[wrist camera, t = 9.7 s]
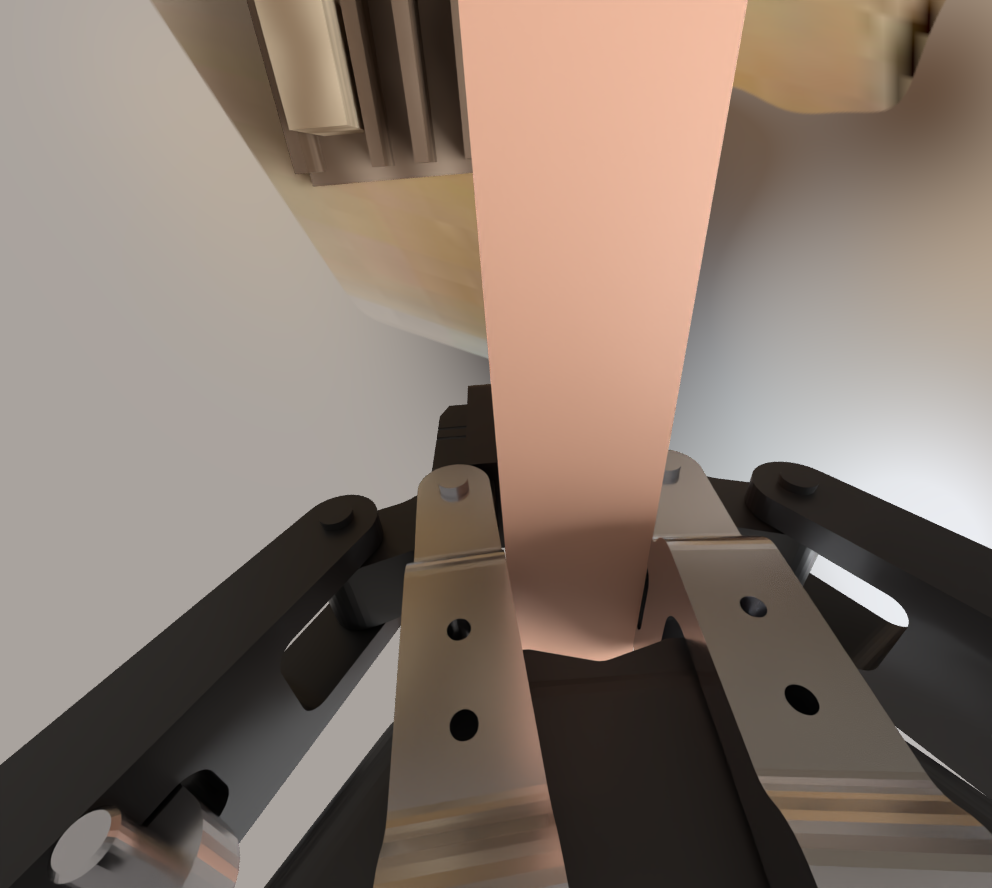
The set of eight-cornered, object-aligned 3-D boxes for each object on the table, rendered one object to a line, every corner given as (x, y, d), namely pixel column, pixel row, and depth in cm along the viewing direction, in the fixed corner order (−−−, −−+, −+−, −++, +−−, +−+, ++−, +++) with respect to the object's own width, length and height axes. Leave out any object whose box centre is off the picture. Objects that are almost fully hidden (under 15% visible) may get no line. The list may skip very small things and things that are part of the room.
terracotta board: (518, 20, 16) (1107, -2030, 1) (532, 457, 27) (601, 827, 12) (465, 25, 16) (292, -1946, 1) (500, 460, 27) (529, 832, 12)
